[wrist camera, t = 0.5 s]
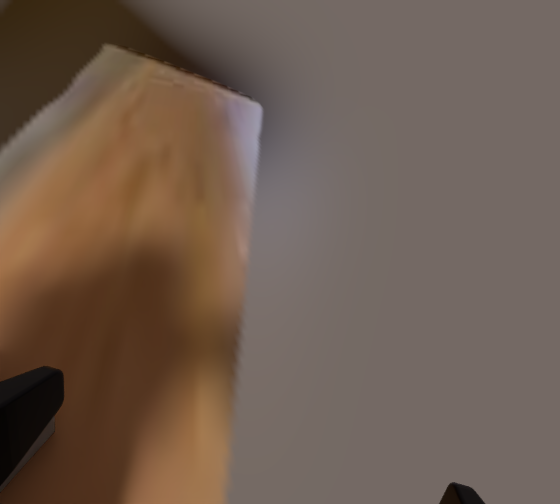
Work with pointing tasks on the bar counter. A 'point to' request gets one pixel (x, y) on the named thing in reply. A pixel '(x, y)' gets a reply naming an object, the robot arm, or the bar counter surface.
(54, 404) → the robot arm
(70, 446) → the bar counter surface
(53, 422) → the tray
